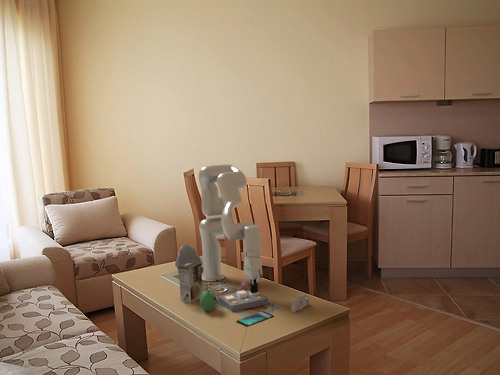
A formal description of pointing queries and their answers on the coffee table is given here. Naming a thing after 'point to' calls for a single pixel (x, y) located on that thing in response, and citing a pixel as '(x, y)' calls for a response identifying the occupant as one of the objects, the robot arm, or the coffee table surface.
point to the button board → (243, 301)
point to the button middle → (241, 294)
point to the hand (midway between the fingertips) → (254, 292)
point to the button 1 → (229, 298)
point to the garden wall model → (298, 300)
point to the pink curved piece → (244, 285)
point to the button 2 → (253, 293)
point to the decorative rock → (187, 256)
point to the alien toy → (208, 300)
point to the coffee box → (190, 281)
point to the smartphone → (254, 318)
